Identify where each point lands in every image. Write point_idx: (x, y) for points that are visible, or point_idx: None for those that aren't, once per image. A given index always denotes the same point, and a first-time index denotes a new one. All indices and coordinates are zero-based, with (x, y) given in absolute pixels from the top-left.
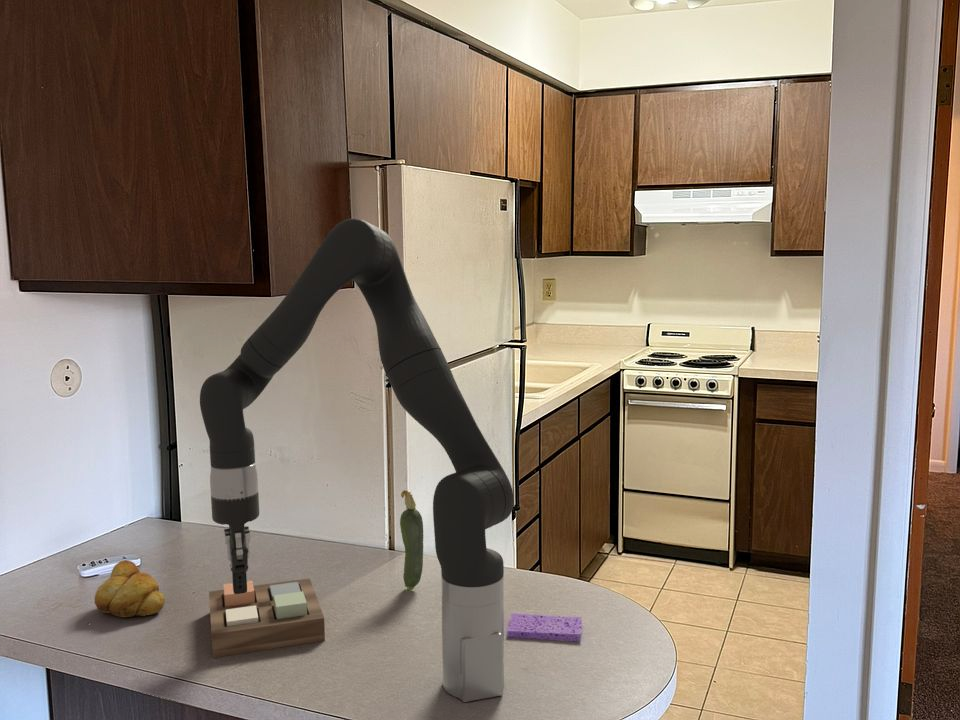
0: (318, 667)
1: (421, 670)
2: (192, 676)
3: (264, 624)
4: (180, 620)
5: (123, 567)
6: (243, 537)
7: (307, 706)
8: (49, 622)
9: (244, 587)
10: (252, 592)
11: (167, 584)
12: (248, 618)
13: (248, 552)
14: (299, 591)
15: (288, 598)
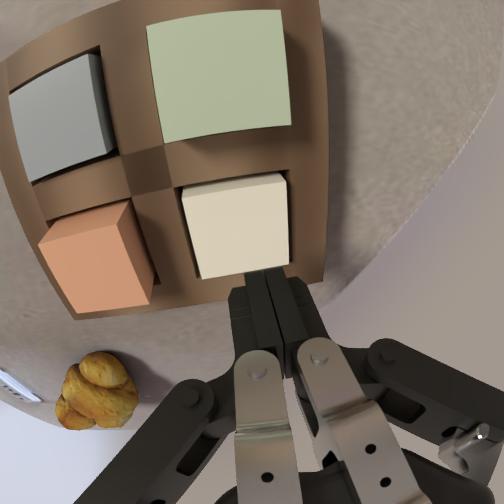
0: (408, 48)
1: None
2: (357, 266)
3: (314, 158)
4: (125, 323)
5: (80, 426)
6: (492, 494)
7: (485, 106)
8: (147, 415)
9: (306, 286)
10: (119, 228)
11: (19, 345)
12: (284, 210)
13: (390, 432)
14: (80, 61)
15: (212, 76)
